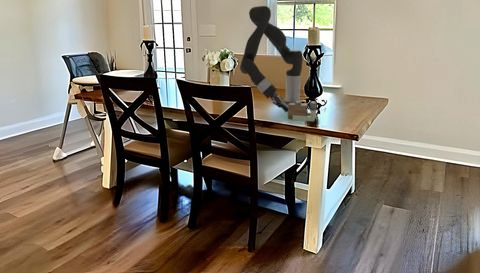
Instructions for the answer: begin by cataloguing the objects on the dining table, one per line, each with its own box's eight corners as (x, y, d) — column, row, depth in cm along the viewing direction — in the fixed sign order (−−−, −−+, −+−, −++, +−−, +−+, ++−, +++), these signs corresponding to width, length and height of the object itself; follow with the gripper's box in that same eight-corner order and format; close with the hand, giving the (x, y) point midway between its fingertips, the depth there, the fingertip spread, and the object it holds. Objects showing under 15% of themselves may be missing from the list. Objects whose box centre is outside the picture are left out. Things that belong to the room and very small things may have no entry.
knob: (310, 108, 227) (310, 101, 225) (316, 109, 226) (317, 101, 224) (309, 110, 223) (309, 102, 222) (315, 110, 222) (316, 102, 221)
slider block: (289, 116, 234) (289, 100, 232) (307, 117, 232) (307, 101, 229) (287, 118, 230) (288, 102, 227) (305, 120, 227) (306, 103, 224)
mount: (295, 115, 236) (295, 105, 234) (315, 117, 232) (316, 106, 231) (292, 120, 227) (293, 109, 225) (313, 121, 224) (314, 110, 222)
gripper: (268, 85, 223) (290, 109, 224) (274, 81, 236) (294, 104, 236) (259, 94, 227) (280, 118, 227) (264, 90, 239) (285, 112, 239)
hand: (287, 111), depth 231 cm, fingers closed
